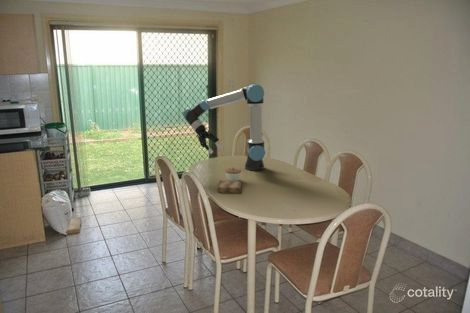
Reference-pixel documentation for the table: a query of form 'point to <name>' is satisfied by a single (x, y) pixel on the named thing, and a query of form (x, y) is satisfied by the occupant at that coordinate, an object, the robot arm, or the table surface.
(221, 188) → the base
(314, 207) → the table surface
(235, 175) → the lidded jar
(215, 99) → the robot arm
